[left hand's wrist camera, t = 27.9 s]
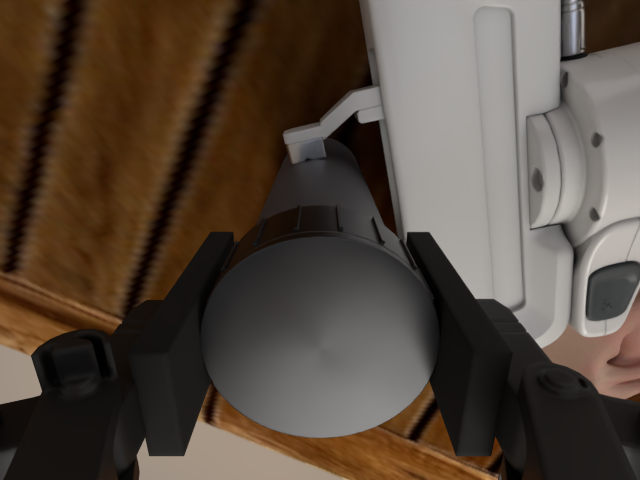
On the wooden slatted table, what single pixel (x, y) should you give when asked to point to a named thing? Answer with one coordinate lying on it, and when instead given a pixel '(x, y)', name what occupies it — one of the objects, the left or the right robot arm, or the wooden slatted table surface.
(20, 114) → the wooden slatted table surface
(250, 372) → the lid
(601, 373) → the anatomical model
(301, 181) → the jar
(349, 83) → the wooden slatted table surface
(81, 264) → the wooden slatted table surface
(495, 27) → the right robot arm
